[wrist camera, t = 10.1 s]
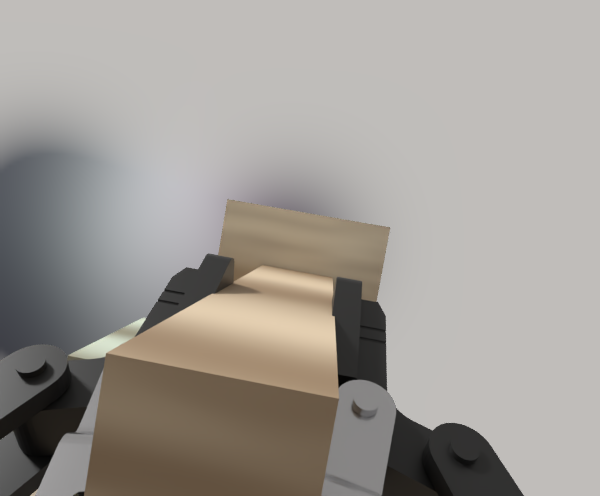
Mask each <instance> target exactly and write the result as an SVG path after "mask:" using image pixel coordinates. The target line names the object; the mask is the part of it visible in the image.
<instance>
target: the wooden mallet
mask: <svg viewBox="0 0 600 496" xmlns="http://www.w3.org/2000/svg"><path fill="white" fill-rule="evenodd" d="M389 231H390V227H384V226H378V225H373V224H367V223H361V222H355V221H350V220H343V219H338V218H332V217H327V216H320V215H315V214H309V213H304V212H298V211H292V210H286V209H280V208H275V207H269V206H263V205H258V204H252V203H246V202H240V201H235V200H229V199H228V200H227V206H226V211H225V217H224V224H223V230H222V236H221V242H220V248H219V254H218V255H219V256H225V257H230V258H234V283H233V284H231V285H229V286H228V287H226V288H224V289H222V290H221V291H219V292H217V293H215V294H211V295H209V296H207V297H205V298H203V299H202V300H200V301H198V302H196V303H195V304H193V305H191V306H189V307H187V308H186V309H184V310H182V311H180V312H178V313H177V314H175V315H173V316H171V317H170V318H168V319H166V320H164V321H162V322H161V323H159V324H157V325H155V326H153V327H152V328H150V329H148V330H146V331H145V332H143V333H141V334H139V335H137V336H136V337H134V338H132V339H130V340H128V341H127V342H125V343H123V344H121V345H120V346H118V347H116V348H114V349H112V350H111V351H109V352H107V353H106V356H105V363H104V369H103V376H102V382H101V389H100V395H99V402H98V408H97V415H96V421H95V428H94V434H93V441H92V447H91V454H90V460H89V467H88V473H87V479H86V486H85V492H84V496H321V494H322V489H323V483H324V478H325V472H326V467H327V461H328V456H329V450H330V445H331V440H332V434H333V429H334V423H335V418H336V412H337V407H338V401H339V390H338V371H337V352H336V333H335V316H332V297H333V292H334V287H335V282H336V278H337V277H342V278H348V279H353V280H359V281H362V298H361V299H363V300H369V301H374V302H376V301H377V295H378V290H379V285H380V279H381V274H382V268H383V263H384V258H385V253H386V247H387V242H388V236H389Z"/></svg>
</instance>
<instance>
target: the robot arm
mask: <svg viewBox="0 0 600 496" xmlns="http://www.w3.org/2000/svg"><path fill="white" fill-rule="evenodd" d="M233 283H234V258H230V257H225V256H219V255H214V254H207V255H206V257H205V259H204V260H203V262H202V264H201V265H200V267H199V269H192V268H185V269H183V270H182V271H181V272H179V273H177V274H176V275H175V276H173V277H172V278H171V280H170V282H169V283H168V285H167V286H166V288H165V291H164V292H163V293H162V294H161V296H160V298H159V299H158V302H156V304H155V305H154V307H153V308H152V310H151V312H150V313H149V315H148V316H147V318H146V320H145V321H144V323H143V324H142V326H141V327H140V329H139V331H138V332H137V334H136V335H135V337H136V336H137V335H139V334H141V333H143V332H145V331H146V330H148V329H150V328H152V327H153V326H155V325H157V324H159V323H161V322H162V321H164V320H166V319H168V318H170V317H171V316H173V315H175V314H177V313H178V312H180V311H182V310H184V309H186V308H187V307H189V306H191V305H193V304H195V303H196V302H198V301H200V300H202V299H203V298H205V297H207V296H209V295H211V294H215V293H217V292H219V291H221V290H222V289H224V288H226V287H228V286H229V285H231V284H233ZM361 298H362V281H359V280H353V279H348V278H342V277H337V278H336V282H335V287H334V292H333V297H332V316H335V333H336V352H337V371H338V390H339V401H338V407H337V412H336V418H335V423H334V429H333V434H332V440H331V445H330V450H329V456H328V461H327V467H326V472H325V478H324V483H323V489H322V494H321V496H524V495H523V494H522V492H521V491H520V490H519V488H518V486H517V485H516V483H515V482H514V480H513V479H512V477H511V476H510V474H509V473H508V471H507V470H506V468H505V467H504V465H503V464H502V462H501V461H500V459H499V458H498V456H497V455H496V453H495V452H494V450H493V449H492V447H491V446H490V444H489V443H488V442H487V440H486V439H485V438H484V437H483V436H481V435H480V434H479V433H478V432H476V431H475V430H473V429H471V428H469V427H467V426H464V425H462V424H457V423H445V424H442V425H440V426H438V427H436V428H435V429H434V430H433V431H432V430H430V429H428V428H426V427H424V426H422V425H420V424H418V423H416V422H414V421H412V420H410V419H409V418H407V417H405V416H404V415H403V414H402V413H400V412H399V411H398V410H397V408H396V406H395V403H394V401H393V399H392V397H391V396H390V394H389V393H388V392H387V377H386V376H387V373H386V333H385V331H386V316H385V314H384V312H383V311H382V309H381V307H380V305H379V303H378V302H374V301H369V300H363V299H361ZM119 346H120V345H119ZM104 363H105V357H102V358H95V359H82V360H67V356H66V355H65V353H64V352H63V351H62V350H61V349H60V348H58V347H55V346H52V345H34V346H29V347H26V348H23V349H20V350H18V351H16V352H14V353H12V354H11V355H9V356H7V357H5V358H4V359H2V360H0V496H30V495H31V494H32V493H33V492H35V491H36V490H37V489H38V491H37V493H36V495H35V496H84V492H85V486H86V479H87V473H88V467H89V460H90V454H91V447H92V441H93V434H94V428H95V421H96V415H97V408H98V402H99V395H100V389H101V382H102V376H103V369H104ZM9 433H10V434H9ZM2 438H3V439H2Z"/></svg>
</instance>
